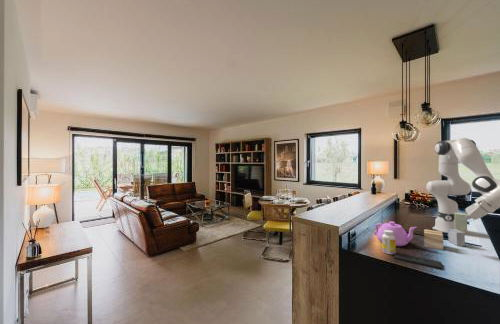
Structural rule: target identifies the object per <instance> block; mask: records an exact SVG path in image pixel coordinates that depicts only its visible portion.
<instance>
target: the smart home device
mask: <svg viewBox="0 0 500 324" xmlns="http://www.w3.org/2000/svg"><path fill="white" fill-rule="evenodd" d="M393 255H394V256H393V259H394V260H398V261H402V262H404V263H405V262H406V263H410V264H415V265H418V266H423V267H427V268H432V269H436V270H439V271H440V270H441V271H442V270H443V265H442V261H439V260H434V259H428V258H424V257H420V256H416V255H415V256H414V255H410V254H405V253H401V252H396V253H395V254H393Z"/></svg>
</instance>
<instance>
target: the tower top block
mask: <svg viewBox="0 0 500 324" xmlns="http://www.w3.org/2000/svg"><path fill="white" fill-rule="evenodd" d="M423 238H424V239H423V241H424V240H428V241H434V242H440V243H443V244H444V232H442V231H438V230H434V229H432V230H431V229H426V228H425V229H423Z"/></svg>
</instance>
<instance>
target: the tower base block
mask: <svg viewBox="0 0 500 324" xmlns="http://www.w3.org/2000/svg"><path fill="white" fill-rule="evenodd" d="M423 246H425V248H430V249H436V250H442V251H444V242H443V243H440V242H434V241H428V240H424V239H423Z"/></svg>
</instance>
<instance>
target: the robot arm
mask: <svg viewBox="0 0 500 324" xmlns="http://www.w3.org/2000/svg"><path fill="white" fill-rule="evenodd" d="M434 152H435V153H436V154H437V155H438V168H437V169H438V173H439V174H440V175H441V176H442V177H446V178H447V180H445V179H444V180H441V179H438V180H437V179H436V180H435V179H434V180H430V181H428V182H427V183H426V185H425V188H426V191H427V192H428V193H429V194H431V195H432V196H434V198H435V199H436V201H437V206H438V207H437V209H438V211H437V217H436V218H435V221H434V222H435V223H434V226H433V227H432V230H435V231H440V232H442V233H447V234H448V229H455V213H459V204H458V203H457V201H455V200H453V199H451V198H449V197H448V195H449V196H465V195H469V194H470V192H471V191H472V188H474V190H476V191H477V192H478V193H480V194H481V195H480V196H479V197H477V198H476V199H474V201H475V202H474V203H472V204H471V205H469V206H467V207H466V208H465V212H464V213H465V214H467V215H466V216H465V217H463V218H461V220H462V221H466V220H467V221H469V220H471V219H472V220H474V221H475V220H478V219H480V218H483V217H485V216H486V215H488V214H493V213H494V212H495V211H496V210H498V209H500V180H499V179H496V178H495V177H494V176H493V175H492V173H491V171H490V170H489V168H488V166H487V164H486V163H485V161H484V158H483V155H482V153H481V151H480V150H479V147H478V146H477V144H476V142H475V140H473V139H470V138H466V137H461V138H458V139H450V140H440V141H438V142H436V144H435V146H434ZM459 162H460V163H461V164H462V165H463V166H464V167H466V168H467V169H469V170H470V171H471V172H472V173H473V174H475V176H476V177H475V178H474V179H473V180H472V182H471V185H472V187H471V185H470V183H468V182H467V181H466V180H464V179H463V178H462V177H461V175H460V172H459ZM454 212H455V213H454ZM456 230H459V229H456ZM459 231H461V232H464V233H465V234H467V233H466V230H459Z"/></svg>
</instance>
